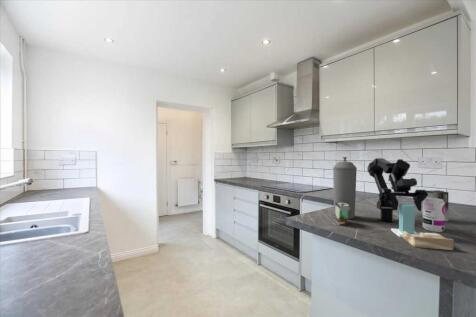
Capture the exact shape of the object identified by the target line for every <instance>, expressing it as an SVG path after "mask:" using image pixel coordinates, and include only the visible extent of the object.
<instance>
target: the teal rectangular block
mask: <svg viewBox="0 0 476 317" xmlns="http://www.w3.org/2000/svg"><path fill="white" fill-rule="evenodd" d="M415 208H416V205H413V204H410V203H398V210H399V211H398V229H399V231H400V232H402V233H403V231H406V232H407V233H409V234H414V231H415V221H416V220H415V219H416V218H415V215H416V214H415V213H416V211H415V210H416V209H415Z"/></svg>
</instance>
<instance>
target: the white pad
mask: <svg viewBox="0 0 476 317" xmlns="http://www.w3.org/2000/svg"><path fill="white" fill-rule="evenodd" d="M390 229H391V230H390V231H391V232H393V233H394V234H395V235H397V237H398V238H403V233H402V232H400V231H399V228H390ZM410 235H412V236H419V237H420V232H418V231H415V230H414V234H410Z"/></svg>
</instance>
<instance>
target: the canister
mask: <svg viewBox="0 0 476 317" xmlns="http://www.w3.org/2000/svg"><path fill="white" fill-rule="evenodd" d="M342 159H343V161H342V160H341V161H337V163H336V164H334V166H332V170H333V172H332V173H333V175H332V176H333V177H332V179H333V180H332V181H333V215H334V217H335V202H342V203H346V204H348V205H349V207H350V210H348V220H353V219H355V217H356V216H355V214H356V197H357V196H356V194H357V192H356V191H357V170H358V168H357V166H356V165H354V163H353V162H351V161H347V159H348V157H347V156H343V157H342Z"/></svg>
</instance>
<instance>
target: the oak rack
mask: <svg viewBox="0 0 476 317" xmlns="http://www.w3.org/2000/svg"><path fill="white" fill-rule="evenodd" d="M424 233H425V232H419V234H420V237H419V236H412V235H410V234H409V233H407V232H406V231H403V237H402V239H404V240H405V241H406V242H408V243H409V244H410V245H411V246H412V247H414V248H421V249H435V250H444V251H445V250H448V251H454V239H453V238H447V237H445V236H443V235H441V234H439V233H438V232H435V233H436V234H437V235H439V236H441V237H443V238H433V237H429V236H427V235H426V234H424Z"/></svg>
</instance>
